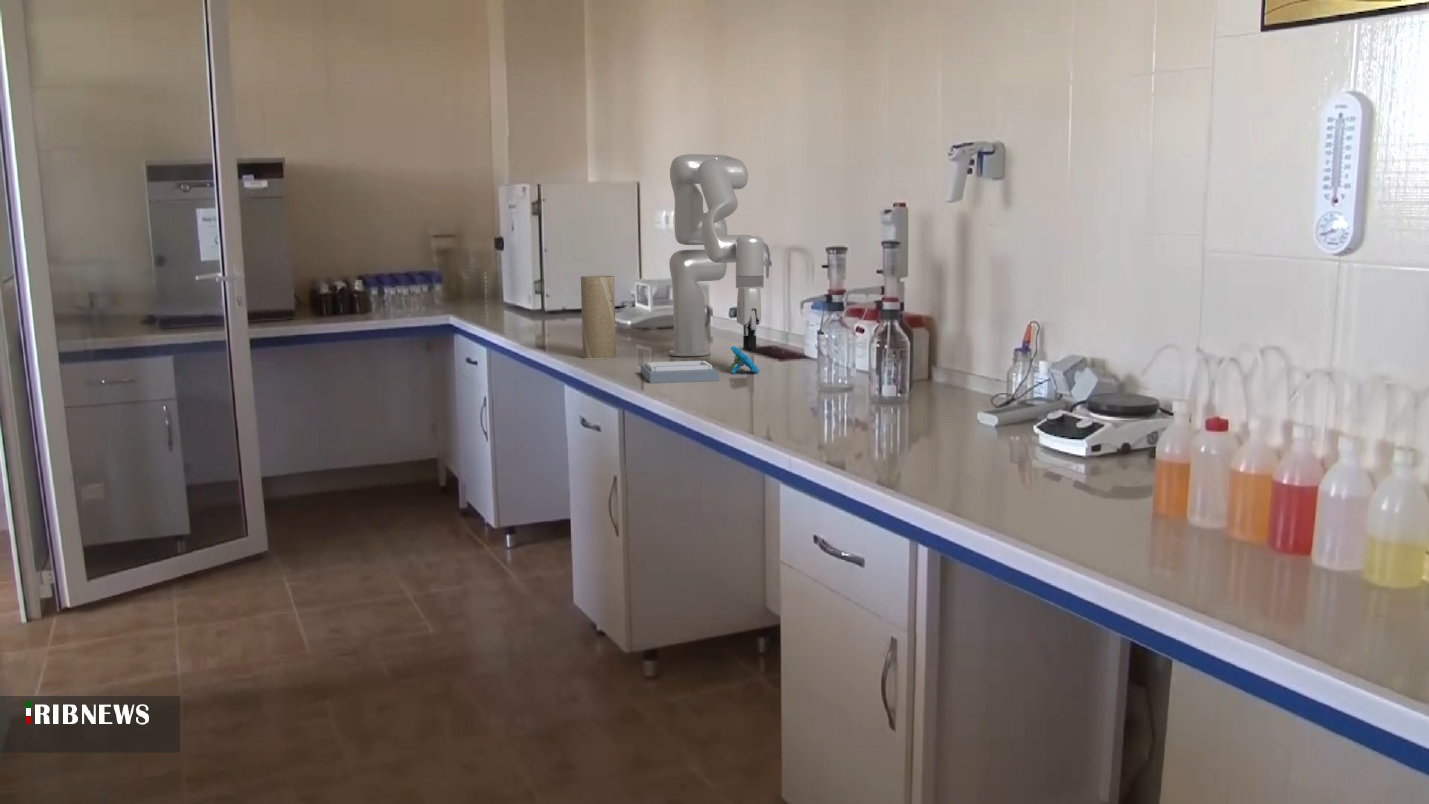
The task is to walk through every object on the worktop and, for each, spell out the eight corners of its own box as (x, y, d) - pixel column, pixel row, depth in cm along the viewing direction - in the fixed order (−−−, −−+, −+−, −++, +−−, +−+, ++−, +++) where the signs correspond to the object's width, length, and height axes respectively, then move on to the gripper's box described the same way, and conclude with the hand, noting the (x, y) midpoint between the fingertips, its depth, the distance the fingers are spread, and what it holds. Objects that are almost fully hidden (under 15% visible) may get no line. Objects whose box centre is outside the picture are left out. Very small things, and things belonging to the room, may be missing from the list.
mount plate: (640, 373, 315) (640, 360, 314) (705, 371, 318) (705, 358, 318) (650, 383, 296) (650, 369, 295) (719, 380, 299) (719, 367, 298)
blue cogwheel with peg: (765, 371, 308) (740, 345, 305) (750, 387, 307) (725, 361, 304) (752, 367, 318) (729, 341, 315) (738, 382, 318) (714, 357, 315)
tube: (618, 357, 354) (616, 275, 350) (612, 361, 344) (610, 277, 340) (586, 357, 355) (584, 275, 351) (579, 360, 345) (577, 277, 341)
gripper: (730, 281, 315) (730, 347, 318) (741, 284, 301) (742, 354, 304) (757, 280, 317) (757, 346, 320) (769, 283, 302) (769, 353, 305)
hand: (749, 350), depth 312 cm, fingers closed
